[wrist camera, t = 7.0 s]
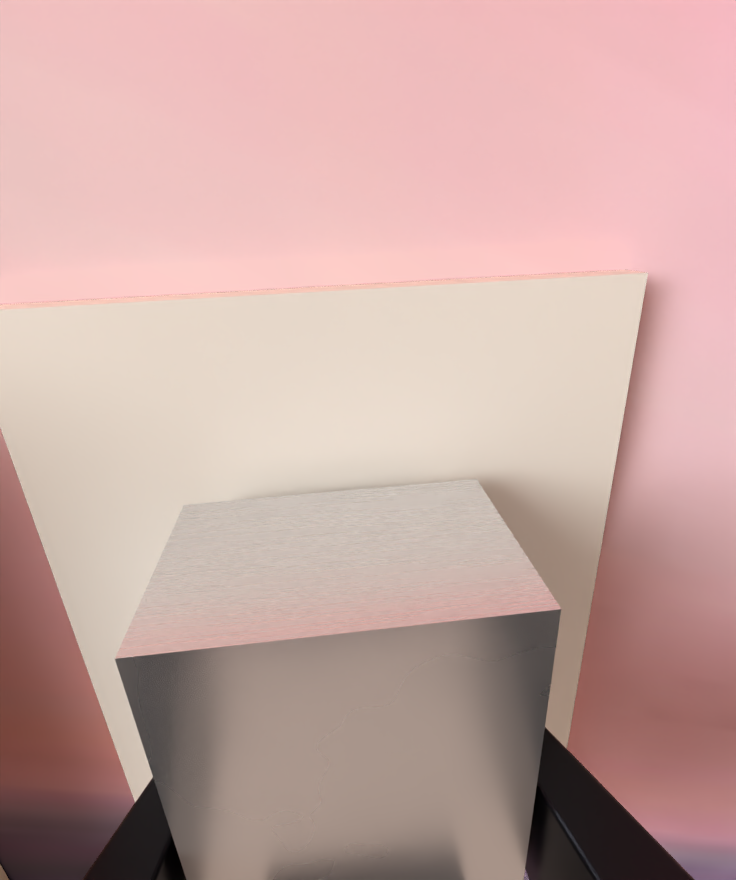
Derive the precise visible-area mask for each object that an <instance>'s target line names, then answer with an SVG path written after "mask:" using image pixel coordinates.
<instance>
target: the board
mask: <svg viewBox="0 0 736 880" xmlns="http://www.w3.org/2000/svg"><path fill="white" fill-rule="evenodd" d="M647 276H648V273H645V272H638V271H632V270H609V271H592V272H574V273H556V274H538V275H520V276H503V277H485V278H467V279H449V280H431V281H413V282H396V283H378V284H360V285H342V286H324V287H306V288H289V289H271V290H253V291H235V292H217V293H200V294H182V295H164V296H146V297H128V298H110V299H93V300H75V301H57V302H39V303H21V304H3V305H0V428H1V431H2V434H3V437H4V440H5V442H6V445H7V448H8V451H9V453H10V456H11V459H12V462H13V465H14V467H15V470H16V473H17V476H18V479H19V481H20V484H21V487H22V490H23V492H24V495H25V498H26V501H27V504H28V506H29V509H30V512H31V515H32V517H33V520H34V523H35V526H36V529H37V531H38V534H39V537H40V540H41V543H42V545H43V548H44V551H45V554H46V556H47V559H48V562H49V565H50V568H51V570H52V573H53V576H54V579H55V581H56V584H57V587H58V590H59V593H60V595H61V598H62V601H63V604H64V606H65V609H66V612H67V615H68V618H69V620H70V623H71V626H72V629H73V632H74V634H75V637H76V640H77V643H78V645H79V648H80V651H81V654H82V657H83V659H84V662H85V665H86V668H87V670H88V673H89V676H90V679H91V682H92V684H93V687H94V690H95V693H96V695H97V698H98V701H99V704H100V707H101V709H102V712H103V715H104V718H105V721H106V723H107V726H108V729H109V732H110V734H111V737H112V740H113V743H114V746H115V748H116V751H117V754H118V757H119V759H120V762H121V765H122V768H123V771H124V773H125V776H126V779H127V782H128V785H129V787H130V790H131V793H132V796H133V798H134V801H135V802H136V801H137V799H138V798H139V796H140V795H141V793H142V792H143V791H144V789H145V788H146V786H147V785H148V783H149V782H150V780H151V779H152V777H153V775H152V772H151V769H150V766H149V763H148V760H147V757H146V754H145V751H144V747H143V744H142V741H141V738H140V735H139V732H138V729H137V726H136V723H135V720H134V717H133V714H132V710H131V707H130V704H129V701H128V698H127V695H126V692H125V689H124V686H123V683H122V680H121V677H120V673H119V670H118V667H117V664H116V661H115V657H116V655H117V653H118V650H119V648H120V646H121V644H122V641H123V639H124V637H125V635H126V632H127V630H128V628H129V626H130V624H131V621H132V619H133V617H134V615H135V612H136V610H137V608H138V606H139V604H140V601H141V599H142V597H143V595H144V592H145V590H146V588H147V586H148V583H149V581H150V579H151V577H152V575H153V572H154V570H155V568H156V566H157V563H158V561H159V559H160V557H161V554H162V552H163V550H164V548H165V546H166V543H167V541H168V539H169V537H170V534H171V532H172V530H173V528H174V526H175V523H176V521H177V519H178V517H179V514H180V512H181V510H182V508H183V505H188V504H199V503H210V502H222V501H233V500H244V499H255V498H267V497H278V496H289V495H301V494H312V493H323V492H334V491H346V490H357V489H368V488H380V487H391V486H402V485H413V484H425V483H436V482H447V481H459V480H470V479H477V480H478V482H479V483H480V485H481V487H482V488H483V490H484V491H485V493H486V494H487V496H488V497H489V499H490V500H491V502H492V503H493V505H494V507H495V508H496V510H497V511H498V513H499V514H500V516H501V517H502V519H503V520H504V522H505V523H506V525H507V526H508V528H509V530H510V531H511V533H512V534H513V536H514V537H515V539H516V540H517V542H518V543H519V545H520V546H521V548H522V549H523V551H524V553H525V554H526V556H527V557H528V559H529V560H530V562H531V563H532V565H533V566H534V568H535V569H536V571H537V573H538V574H539V576H540V577H541V579H542V580H543V582H544V583H545V585H546V586H547V588H548V589H549V591H550V592H551V594H552V596H553V597H554V599H555V600H556V602H557V603H558V605H559V606H560V608H561V615H560V622H559V630H558V637H557V644H556V651H555V658H554V665H553V672H552V680H551V687H550V694H549V701H548V708H547V715H546V723H545V727H546V728H547V729H548V730H549V731H550V732H551V733H552V734H553V735H554V736H555V737H556V738H557V739H558V740H559V742H560V743H561V744H562V745H563V746H564V747H565V748H566V749H567V745H568V739H569V733H570V727H571V722H572V716H573V710H574V704H575V698H576V692H577V686H578V680H579V675H580V669H581V663H582V657H583V651H584V645H585V639H586V634H587V628H588V622H589V616H590V610H591V604H592V598H593V593H594V587H595V581H596V575H597V569H598V563H599V557H600V551H601V546H602V540H603V534H604V528H605V522H606V516H607V510H608V505H609V499H610V493H611V487H612V481H613V475H614V469H615V463H616V458H617V452H618V446H619V440H620V434H621V428H622V422H623V417H624V411H625V405H626V399H627V393H628V387H629V381H630V375H631V370H632V364H633V358H634V352H635V346H636V340H637V334H638V329H639V323H640V317H641V311H642V305H643V299H644V293H645V287H646V282H647Z"/></svg>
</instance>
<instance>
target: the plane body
mask: <svg viewBox="0 0 736 880" xmlns="http://www.w3.org/2000/svg"><path fill="white" fill-rule="evenodd" d="M0 880H9V879H8V877H7V875H6V873H5V872H4V870H3V868H2V866H1V865H0Z"/></svg>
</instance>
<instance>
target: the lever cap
mask: <svg viewBox="0 0 736 880" xmlns="http://www.w3.org/2000/svg"><path fill="white" fill-rule="evenodd" d="M560 615H561V608H560V606H559V605H558V603H557V602H556V600H555V599H554V597H553V596H552V594H551V592H550V591H549V589H548V588H547V586H546V585H545V583H544V582H543V580H542V579H541V577H540V576H539V574H538V573H537V571H536V569H535V568H534V566H533V565H532V563H531V562H530V560H529V559H528V557H527V556H526V554H525V553H524V551H523V549H522V548H521V546H520V545H519V543H518V542H517V540H516V539H515V537H514V536H513V534H512V533H511V531H510V530H509V528H508V526H507V525H506V523H505V522H504V520H503V519H502V517H501V516H500V514H499V513H498V511H497V510H496V508H495V507H494V505H493V503H492V502H491V500H490V499H489V497H488V496H487V494H486V493H485V491H484V490H483V488H482V487H481V485H480V483H479V482H478V480H477V479H470V480H459V481H447V482H436V483H425V484H413V485H402V486H391V487H380V488H368V489H357V490H346V491H334V492H323V493H312V494H301V495H289V496H278V497H267V498H255V499H244V500H233V501H222V502H210V503H199V504H188V505H183V508H182V510H181V512H180V514H179V517H178V519H177V521H176V523H175V526H174V528H173V530H172V532H171V534H170V537H169V539H168V541H167V543H166V546H165V548H164V550H163V552H162V554H161V557H160V559H159V561H158V563H157V566H156V568H155V570H154V572H153V575H152V577H151V579H150V581H149V583H148V586H147V588H146V590H145V592H144V595H143V597H142V599H141V601H140V604H139V606H138V608H137V610H136V612H135V615H134V617H133V619H132V621H131V624H130V626H129V628H128V630H127V632H126V635H125V637H124V639H123V641H122V644H121V646H120V648H119V650H118V653H117V655H116V657H115V661H116V664H117V667H118V670H119V673H120V677H121V680H122V683H123V686H124V689H125V692H126V695H127V698H128V701H129V704H130V707H131V710H132V714H133V717H134V720H135V723H136V726H137V729H138V732H139V735H140V738H141V741H142V744H143V747H144V751H145V754H146V757H147V760H148V763H149V766H150V769H151V772H152V775H153V778H154V781H155V784H156V788H157V791H158V794H159V797H160V800H161V803H162V806H163V809H164V812H165V815H166V818H167V821H168V825H169V828H170V831H171V834H172V837H173V840H174V843H175V846H176V849H177V852H178V855H179V858H180V861H181V865H182V868H183V871H184V874H185V877H186V880H524V873H525V866H526V858H527V851H528V844H529V837H530V830H531V823H532V815H533V808H534V801H535V794H536V787H537V780H538V773H539V765H540V758H541V751H542V744H543V737H544V730H545V723H546V715H547V708H548V701H549V694H550V687H551V680H552V672H553V665H554V658H555V651H556V644H557V637H558V630H559V622H560Z"/></svg>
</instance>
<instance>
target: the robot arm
mask: <svg viewBox="0 0 736 880" xmlns="http://www.w3.org/2000/svg"><path fill="white" fill-rule="evenodd" d="M525 869H526V871H527V874H528V877H529V880H694V879H693V878H692V877H691V876H690V875H689V874H688V873H687V872H686V871H685V869H684V868H683V867H682V866H681V865H680V864H679V863H678V862H677V861H676V860H675V859H674V858H673V857H672V856H671V855H670V854H669V853H668V852H667V851H666V850H665V849H664V848H663V847H662V846H661V845H660V844H659V843H658V842H657V841H656V840H655V839H654V838H653V837H652V836H651V835H650V834H649V833H648V832H647V831H646V830H645V829H644V828H643V826H642V825H641V824H640V823H639V822H638V821H637V820H636V819H635V818H634V817H633V816H632V815H631V814H630V813H629V812H628V811H627V810H626V809H625V808H624V807H623V806H622V805H621V804H620V803H619V802H618V801H617V800H616V799H615V798H614V797H613V796H612V795H611V794H610V793H609V792H608V791H607V790H606V789H605V788H604V787H603V786H602V785H601V783H600V782H599V781H598V780H597V779H596V778H595V777H594V776H593V775H592V774H591V773H590V772H589V771H588V770H587V769H586V768H585V767H584V766H583V765H582V764H581V763H580V762H579V761H578V760H577V759H576V758H575V757H574V756H573V755H572V754H571V753H570V752H569V751H568V750H567V749H566V748H565V747H564V746H563V745H562V744H561V743H560V742H559V740H558V739H557V738H556V737H555V736H554V735H553V734H552V733H551V732H550V731H549V730H548V729H547V728H546V727H545V730H544V737H543V744H542V751H541V758H540V765H539V773H538V780H537V787H536V794H535V801H534V808H533V815H532V823H531V830H530V837H529V844H528V851H527V858H526V866H525ZM83 880H186V877H185V874H184V871H183V868H182V865H181V861H180V858H179V855H178V852H177V849H176V846H175V843H174V840H173V837H172V834H171V831H170V828H169V825H168V821H167V818H166V815H165V812H164V809H163V806H162V803H161V800H160V797H159V794H158V791H157V788H156V784H155V781H154V778H153V777H152V779H151V780H150V782H149V783H148V785H147V786H146V788H145V789H144V791H143V792H142V793H141V795H140V796H139V798H138V799H137V801H136V802H135V804H134V805H133V807H132V808H131V810H130V811H129V813H128V814H127V815H126V817H125V818H124V820H123V821H122V823H121V824H120V826H119V827H118V829H117V830H116V832H115V833H114V834H113V836H112V837H111V839H110V840H109V842H108V843H107V845H106V846H105V848H104V849H103V851H102V852H101V853H100V855H99V856H98V858H97V859H96V861H95V862H94V864H93V865H92V867H91V868H90V870H89V871H88V872H87V874H86V875H85V877H84V878H83Z"/></svg>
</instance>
